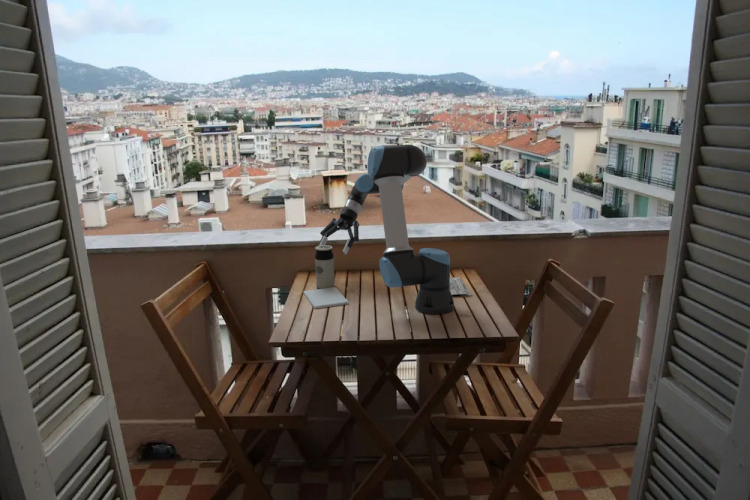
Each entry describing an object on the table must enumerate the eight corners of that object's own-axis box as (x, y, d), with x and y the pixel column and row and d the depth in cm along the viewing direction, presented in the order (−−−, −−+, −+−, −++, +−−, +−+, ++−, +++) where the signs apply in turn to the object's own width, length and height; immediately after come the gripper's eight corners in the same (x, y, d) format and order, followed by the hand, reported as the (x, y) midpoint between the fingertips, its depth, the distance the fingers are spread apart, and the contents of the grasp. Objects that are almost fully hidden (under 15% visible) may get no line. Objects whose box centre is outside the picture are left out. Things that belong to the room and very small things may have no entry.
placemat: (348, 304, 222) (348, 301, 222) (314, 308, 218) (314, 306, 218) (335, 289, 241) (335, 287, 240) (303, 293, 236) (303, 291, 236)
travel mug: (328, 282, 250) (326, 244, 245) (338, 286, 244) (336, 247, 239) (313, 286, 245) (311, 247, 240) (323, 290, 239) (321, 250, 234)
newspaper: (473, 298, 228) (472, 292, 227) (443, 301, 228) (442, 295, 228) (464, 280, 250) (464, 275, 249) (437, 283, 250) (437, 278, 249)
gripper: (376, 219, 251) (358, 259, 243) (332, 214, 264) (314, 251, 256) (369, 209, 245) (351, 250, 237) (325, 205, 259) (306, 243, 250)
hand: (332, 251), depth 247 cm, fingers open, 13 cm apart
